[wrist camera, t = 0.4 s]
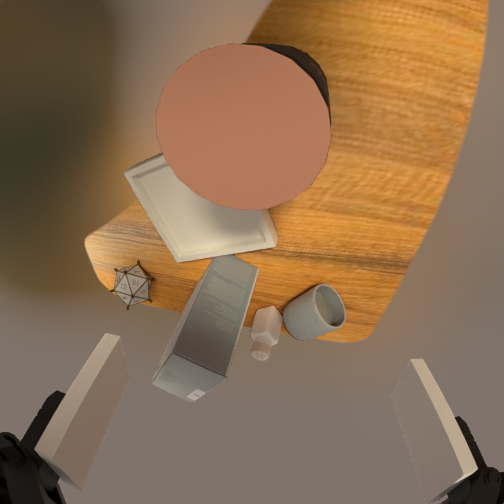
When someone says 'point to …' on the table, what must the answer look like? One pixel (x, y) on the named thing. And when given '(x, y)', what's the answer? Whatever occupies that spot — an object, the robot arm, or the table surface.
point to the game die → (132, 285)
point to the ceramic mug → (314, 313)
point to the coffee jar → (246, 124)
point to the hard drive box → (208, 330)
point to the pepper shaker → (265, 331)
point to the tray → (196, 216)
